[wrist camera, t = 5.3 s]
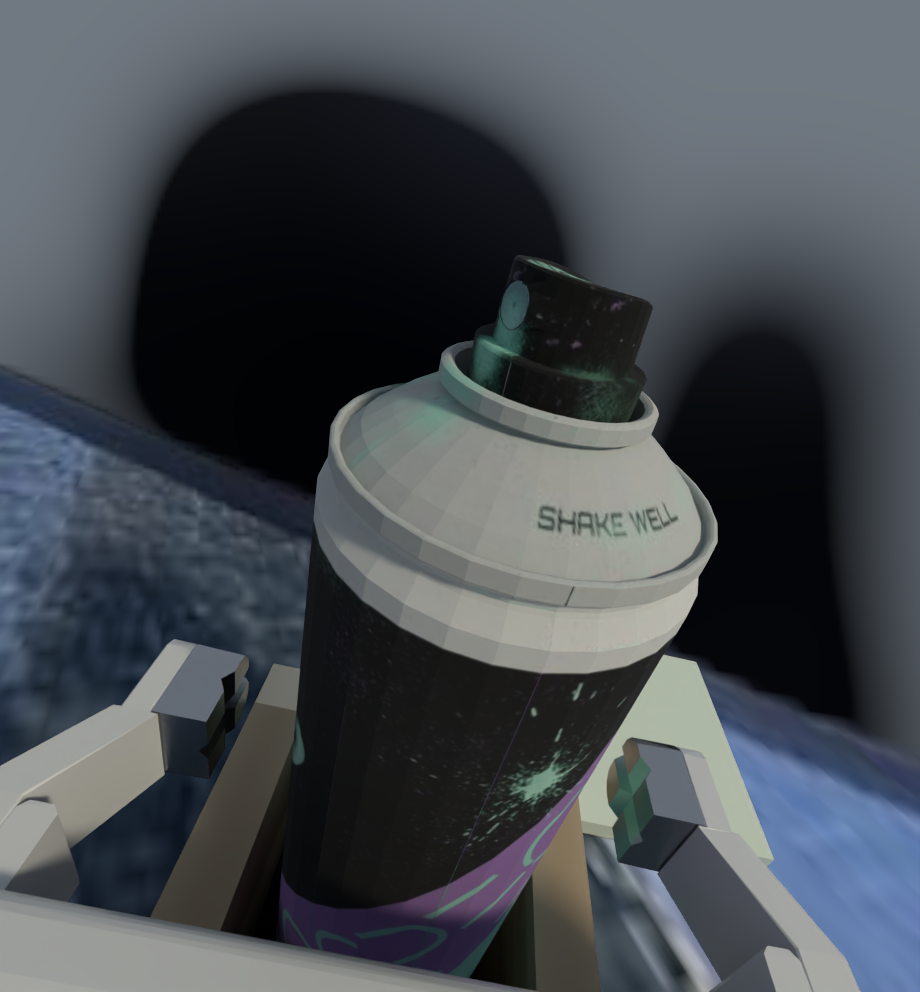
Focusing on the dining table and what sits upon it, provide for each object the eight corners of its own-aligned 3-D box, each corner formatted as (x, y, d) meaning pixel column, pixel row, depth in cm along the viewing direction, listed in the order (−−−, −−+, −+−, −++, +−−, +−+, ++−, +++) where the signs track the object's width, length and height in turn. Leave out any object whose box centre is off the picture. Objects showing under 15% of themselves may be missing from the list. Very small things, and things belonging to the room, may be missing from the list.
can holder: (93, 1197, 12) (42, 1138, 9) (268, 768, 20) (273, 663, 17) (530, 1269, 12) (628, 1237, 9) (521, 820, 21) (570, 726, 18)
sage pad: (521, 820, 21) (527, 809, 20) (517, 633, 29) (521, 623, 29) (763, 869, 21) (774, 859, 21) (689, 671, 30) (696, 662, 29)
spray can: (229, 987, 15) (213, 193, 5) (356, 824, 19) (488, 223, 9) (382, 1151, 13) (878, 417, 3) (484, 930, 17) (830, 322, 7)
